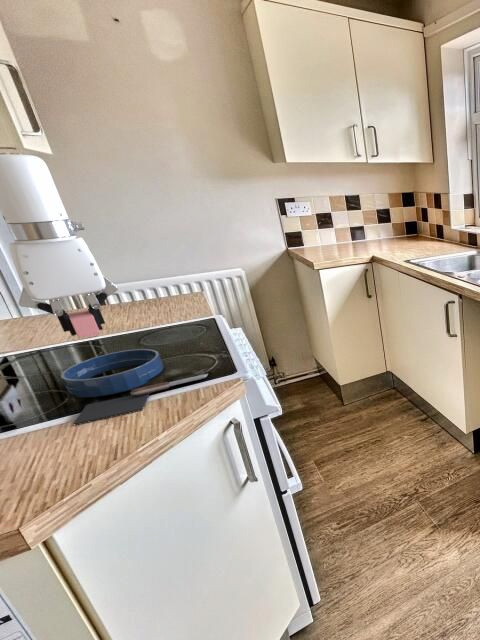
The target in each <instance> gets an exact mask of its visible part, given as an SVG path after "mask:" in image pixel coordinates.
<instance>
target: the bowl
mask: <svg viewBox="0 0 480 640" xmlns="http://www.w3.org/2000/svg"><path fill="white" fill-rule="evenodd" d="M133 366H137V367H134V368H131V369H127V370H125V371H122V372H117V373H114V374H110V375H103V376H100V377H96V376H98V375H100V374H103V373H106V372H109V371H112V370H116V369H120V368H121V369H122V368H127V367H133ZM164 368H165V366H164V363H163V361H162V358H161V356H160V353H159V352H158V351H157V350H155V349H149V348H136V349H126V350H121V351H117V352H116V351H115V352H111V353H106V354H102V355H98V356H96V357H95V356H94V357H92V358H89V359H86V360H83V361H81V362H78V363H75V364H73V365H71V366H70V367H68V368H66V369H65V370H64V371H63V372H62V373H61V374H60V378H61V380H62V382H63V384H64V386H65V389H66V391H67V392H68V393H69V394H70V395H71V396H72V397H75V398H100V397H107V396H111V395H117V394H120V393H124V392H128V391H132V390H134V389H138V388H140V387H143V386H144V385H147V384H148V383H150V382H152V381H153V379H152V378H155V377H157V376H158V375H159V374H161V372H163V370H164ZM94 376H95V377H94Z"/></svg>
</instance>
